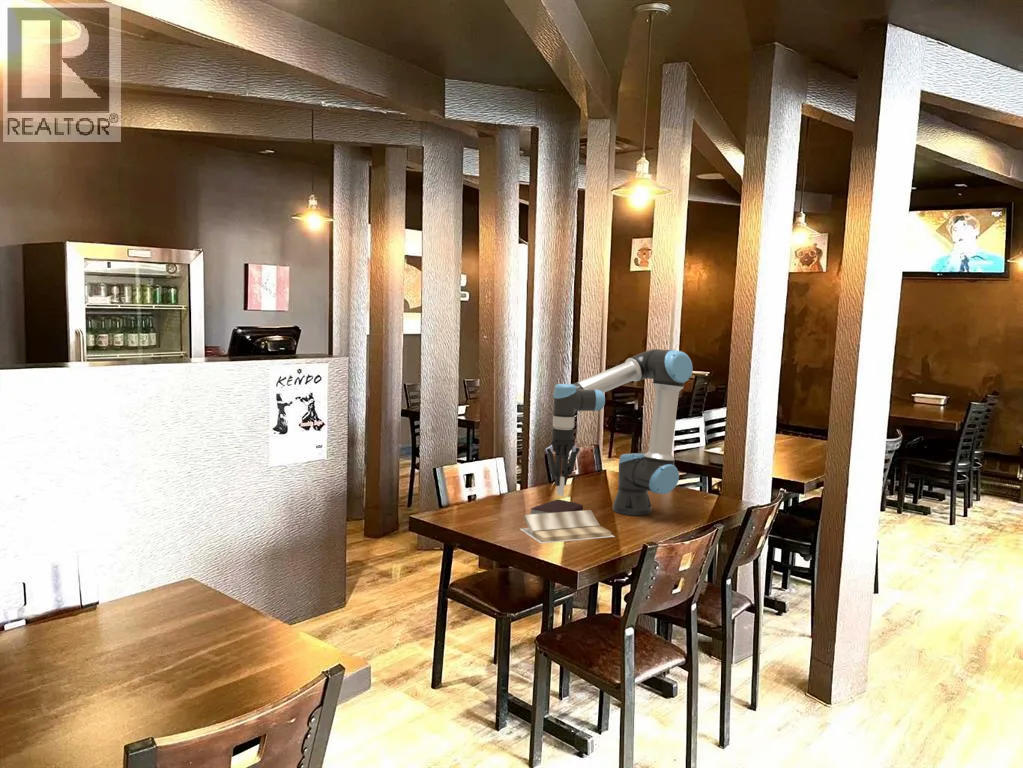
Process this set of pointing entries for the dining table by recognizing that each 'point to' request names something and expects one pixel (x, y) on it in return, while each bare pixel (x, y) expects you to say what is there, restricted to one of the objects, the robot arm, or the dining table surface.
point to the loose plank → (560, 520)
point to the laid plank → (571, 534)
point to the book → (556, 507)
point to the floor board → (555, 541)
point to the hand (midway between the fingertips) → (560, 494)
